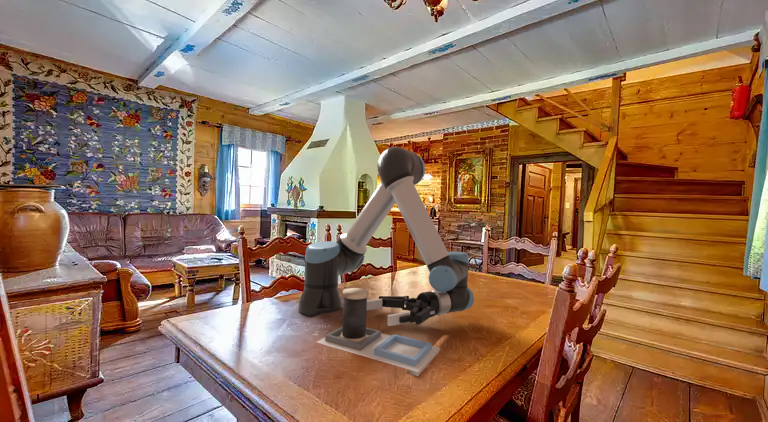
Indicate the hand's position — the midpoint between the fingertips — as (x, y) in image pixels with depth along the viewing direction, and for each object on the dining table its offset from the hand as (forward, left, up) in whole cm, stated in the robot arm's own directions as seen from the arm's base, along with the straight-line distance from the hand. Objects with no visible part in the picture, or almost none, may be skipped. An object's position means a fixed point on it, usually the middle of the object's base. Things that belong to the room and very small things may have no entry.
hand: (374, 313), depth 95 cm
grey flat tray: (+4, -5, -7) cm, 10 cm away
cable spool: (-4, -5, -6) cm, 9 cm away
